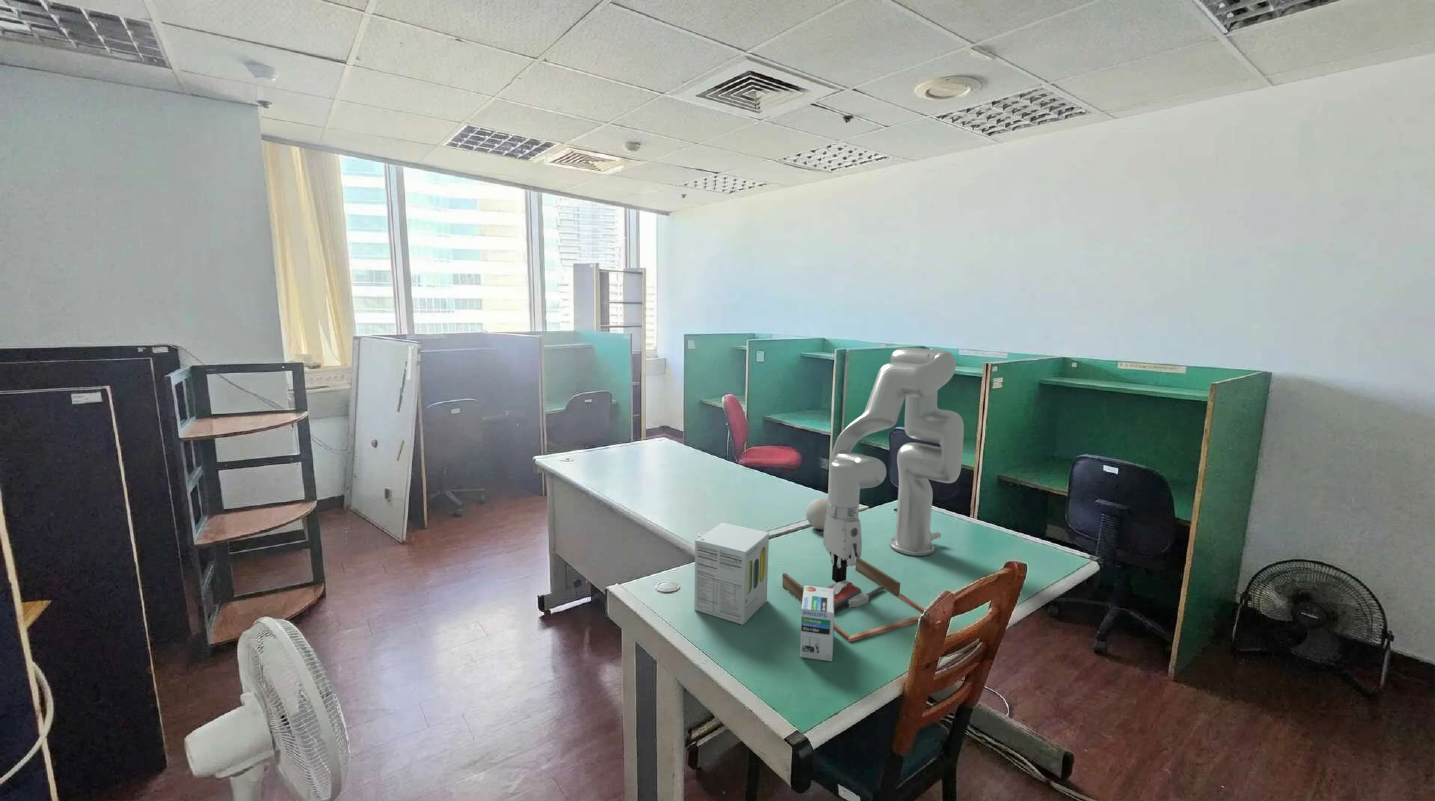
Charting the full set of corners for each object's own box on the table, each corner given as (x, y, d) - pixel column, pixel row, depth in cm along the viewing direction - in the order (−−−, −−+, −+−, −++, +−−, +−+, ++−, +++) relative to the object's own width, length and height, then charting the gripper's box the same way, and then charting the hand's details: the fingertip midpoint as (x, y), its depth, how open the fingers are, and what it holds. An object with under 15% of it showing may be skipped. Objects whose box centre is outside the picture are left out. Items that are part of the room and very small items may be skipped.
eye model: (834, 536, 180) (836, 505, 178) (802, 531, 183) (803, 501, 182) (839, 525, 189) (841, 496, 187) (809, 521, 193) (810, 492, 191)
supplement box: (743, 626, 129) (745, 552, 126) (693, 610, 136) (693, 539, 133) (768, 600, 141) (770, 532, 138) (720, 586, 147) (721, 521, 144)
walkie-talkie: (838, 622, 133) (886, 593, 146) (839, 604, 132) (887, 577, 145) (808, 606, 139) (856, 580, 153) (809, 589, 138) (857, 565, 152)
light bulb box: (832, 662, 117) (835, 613, 115) (798, 658, 118) (800, 608, 116) (833, 633, 127) (835, 587, 125) (801, 629, 128) (803, 584, 126)
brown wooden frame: (857, 569, 158) (858, 557, 157) (933, 617, 134) (934, 603, 133) (782, 586, 148) (782, 573, 147) (849, 642, 124) (850, 627, 123)
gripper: (875, 518, 137) (870, 590, 140) (836, 499, 151) (833, 565, 153) (849, 522, 134) (845, 596, 137) (812, 502, 147) (809, 570, 150)
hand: (838, 580), depth 145 cm, fingers closed
